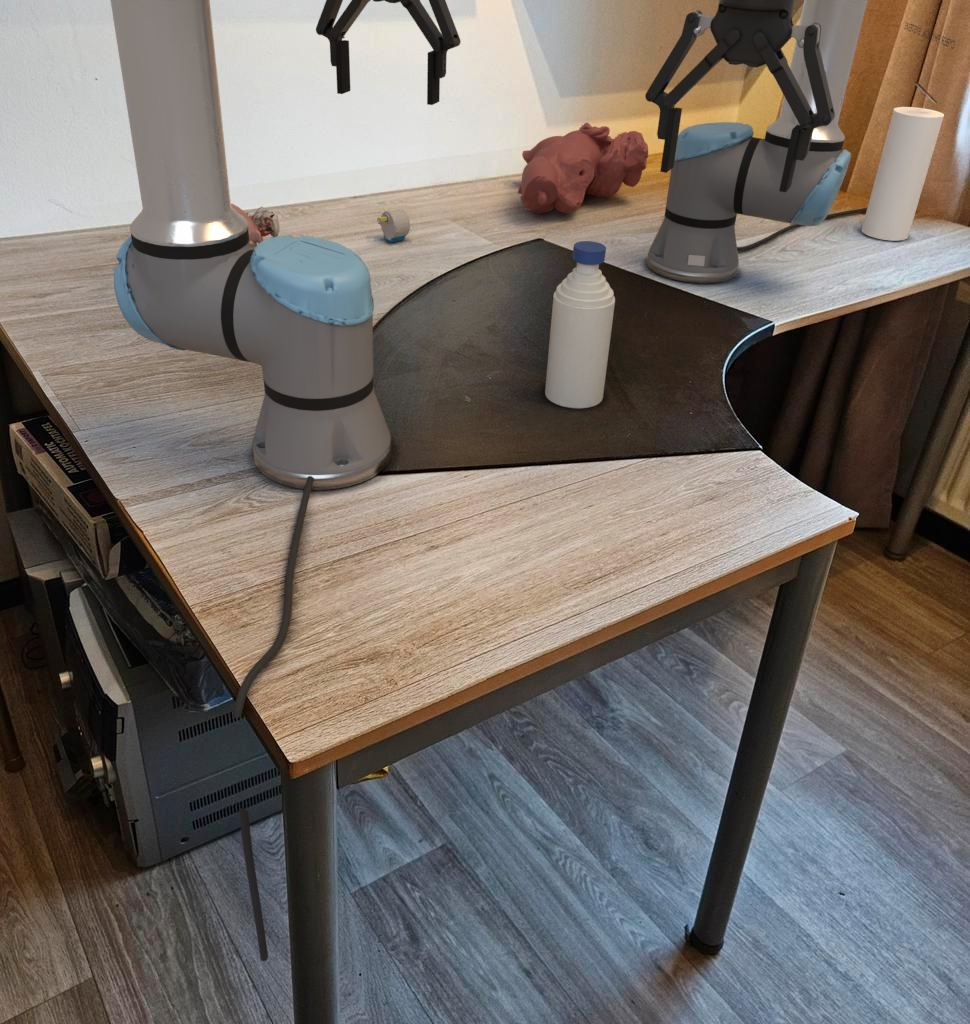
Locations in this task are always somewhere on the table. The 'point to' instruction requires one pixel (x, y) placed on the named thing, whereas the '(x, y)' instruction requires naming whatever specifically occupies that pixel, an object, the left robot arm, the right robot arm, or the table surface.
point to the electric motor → (394, 225)
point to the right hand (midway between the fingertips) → (724, 179)
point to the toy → (260, 224)
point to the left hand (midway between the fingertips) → (388, 97)
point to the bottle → (580, 338)
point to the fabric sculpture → (580, 168)
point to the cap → (589, 252)
